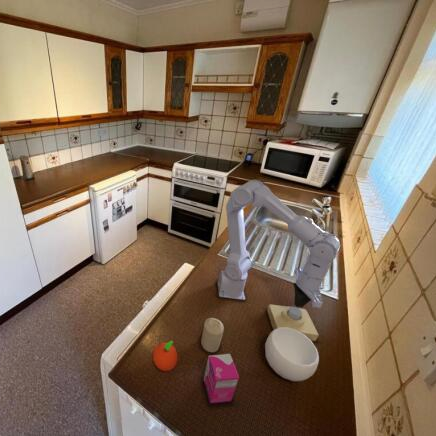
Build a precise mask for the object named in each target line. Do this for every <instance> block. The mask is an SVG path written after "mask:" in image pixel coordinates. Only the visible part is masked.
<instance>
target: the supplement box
mask: <svg viewBox="0 0 436 436" xmlns="http://www.w3.org/2000/svg"><path fill="white" fill-rule="evenodd" d="M237 370H238V369H237V368H236V365H235V363H234V360H233V357H232V356H231V353H224V354H214V355H208V358H207V363H206V367H205V372H204V375H203V382H204V385H205V389H206V393H207V397H208V401H209V404H219V403H220V404H221V403H229V402H232V400H233V397H234V395H235V391H236V389H237V385H238V382H239V379H240V375H239V373H238V371H237Z"/></svg>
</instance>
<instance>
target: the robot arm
mask: <svg viewBox="0 0 436 436" xmlns="http://www.w3.org/2000/svg"><path fill="white" fill-rule="evenodd" d="M229 195H230V196H229V198H228V200H227V202H226V203H225V211H226V212H225V213H226V223H227V234H228V242H229V254H228V256H227V259H226V266H225V268H224V270H220V272H219V276H218V280H217V289H218V290H217V291H218V297H220V298H228V299H233V300H239V301H240V300H241V301H246V296H245V292H244V289H245V286H246V282H247V279H248V271H249V270H250V269H251V268H252V267H253V264H254V263H253V259H252V258H251V255H250V252H249V251H248V250H247V246H246V230H245V228H246V227H245V218H244V215H245V213H244V209H245V208H246V207H248V206H249V205H251V207H253V208H265V209H267V210H268V211H269V212H271V213H272V214H273V215H275V216H276V217H277V218H278V219H280V220H281V221H282V222H284V223H286V224H287V230H288V232H289V233H290V234H292V235H293V236H294V237H295V238H296V239H298V240H299V241H300V242H301V243H302V244H304V245H305V246H306V247H307V248H309V249H308V250H309V254H308V255H307V256H306V259H305V261H304V263H303V266H302V268H300V267H295V269H294V271H293V273H294V274H295V282H293V284H292V285H293V289H294V301H293V303H294V307H296V308H304V307H305V306H306V305H307V304H308V303H309V302H312V303H311V306H312V308H317V309H321V308H322V306H323V304H324V301H323V300H322V293H321V290H324V285H323V282H324V280H325V278H326V277H327V274H328V272H329V270H330V268H331V266H332V263H333V261H334V260H335V259H336V258H337V254H338V252H339V250H340V248H341V241H340V239H339V238H338V237H337V236H336V235H335V234H334V233H330V232H327V231H324V230H322V229H321V228H320V227H319V226H317V225H316V224H315V223H314V220H313V218H311V217H307V216H305V215H297V214H296V213H295V212H293V210H292V209H290V207H288V206H287V205H286V204H285V203H284V202H283V201H282V200H280V198H279V197H277V196H276V195H275V194H274V193H273V192H272V190H271V189H270V188H269V186H267V185H265V184H263V182H262V181H261V180H258V179H251V180H249V181H247V182H246V183H244V184H242V185H239V186H237V187H236V188H235V189H233V190H232V191H231V192H230V194H229Z"/></svg>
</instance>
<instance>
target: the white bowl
mask: <svg viewBox="0 0 436 436" xmlns="http://www.w3.org/2000/svg"><path fill="white" fill-rule="evenodd" d="M264 349H265V350H264V351H265V358H266V361H267V363H268V365H269V366H270V368H271V369H272V370H273V371H274V372H275V373H276V374H277V375H278V376H280V377H281V378H283V379H285V380H289V381H291V382H303V381H305V380H308V379H309V378H310V377H312V376H314V374H315V373H316V371H317V369H318V365H319V362H320V355H319V352H318V348H317V347H316V345H315V344H314V342H313V341H312V340H310V339H309V338H308V337H306V336H305V335H304V334H302V333H301V332H299V331H297V330H295V329H292V328H288V327H279V328H277V329H275V330H272V331H271V332H270V333H269V334H268V337H267V339H266V342H265V344H264Z"/></svg>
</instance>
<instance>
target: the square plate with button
mask: <svg viewBox="0 0 436 436" xmlns="http://www.w3.org/2000/svg"><path fill="white" fill-rule="evenodd" d="M290 307H291V306H285V305H278V304H270V303H269V304H268V305H267V309H266V311H267V315H268V316H269V317H268V318H269V320H270V324H271V326H272V329H273V330H275V329H277V328H279V327H288V328H292V329H295V330H297V331H299V332H301V333H302V334H304V335H305V336H306V337H308V338H309V339H310V340H311V341H312V342H316V341H317V339H318V337H319V333H318V331H317V329H316V327H315V325H314V323H313V320H312V319H311V317H310V315H309V313H308V311H307V309H306V308H301V307H297V308H298V309H300V310H301V312H302V315H301V317H300V319H299V320H295V319H293V318H291V317H290V316H289V315H288V311H289V309H290ZM273 330H272V331H273Z"/></svg>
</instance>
